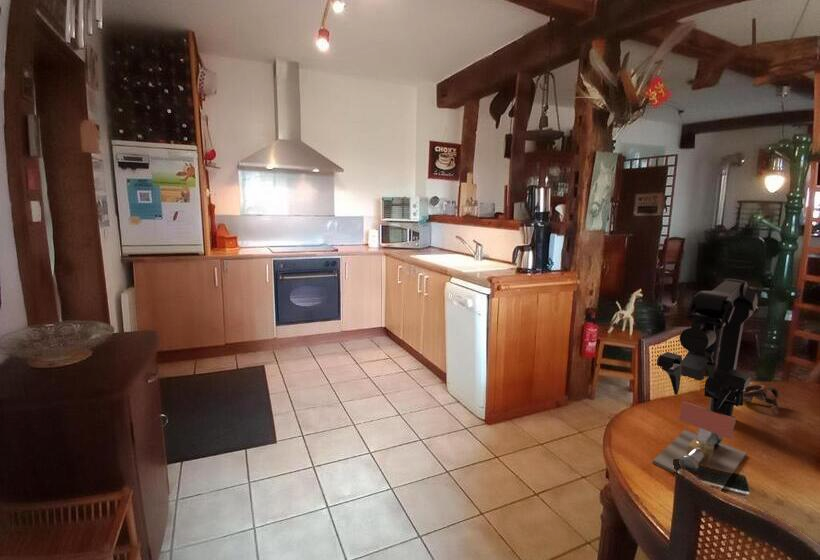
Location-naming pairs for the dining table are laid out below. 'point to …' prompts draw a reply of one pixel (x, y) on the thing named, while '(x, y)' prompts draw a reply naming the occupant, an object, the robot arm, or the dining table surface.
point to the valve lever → (707, 421)
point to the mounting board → (721, 460)
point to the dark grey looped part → (768, 393)
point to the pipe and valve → (700, 453)
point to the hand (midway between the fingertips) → (696, 401)
